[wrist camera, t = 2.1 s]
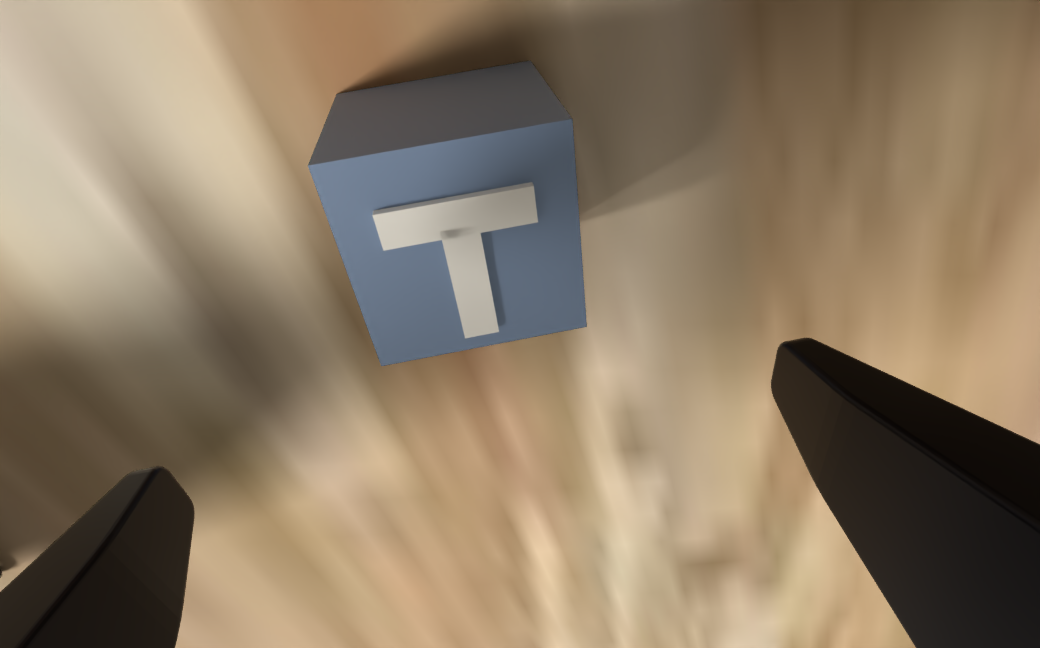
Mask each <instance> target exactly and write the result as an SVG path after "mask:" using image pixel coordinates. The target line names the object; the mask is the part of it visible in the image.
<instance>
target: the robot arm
mask: <svg viewBox="0 0 1040 648" xmlns="http://www.w3.org/2000/svg"><path fill="white" fill-rule="evenodd" d="M771 389H772V394H773V397H774V399H775V402H776V404H777V406H778V408H779V410H780V412H781V414H782V416H783V418H784V420H785V423H786V425H787V427H788V429H789V431H790V433H791V435H792V437H793V439H794V441H795V443H796V446H797V448H798V450H799V452H800V454H801V456H802V458H803V460H804V462H805V464H806V467H807V469H808V471H809V473H810V475H811V477H812V479H813V480H814V482H815V484H816V486H817V488H818V490H819V491H820V493H821V495H822V496H823V498H824V500H825V502H826V503H827V505H828V506H829V508H830V510H831V511H832V513H833V514H834V516H835V518H836V519H837V521H838V523H839V524H840V526H841V527H842V529H843V531H844V532H845V534H846V535H847V537H848V539H849V540H850V542H851V543H852V545H853V547H854V548H855V550H856V552H857V553H858V555H859V556H860V558H861V560H862V561H863V563H864V564H865V566H866V568H867V569H868V571H869V573H870V574H871V576H872V577H873V579H874V581H875V582H876V584H877V585H878V587H879V589H880V590H881V592H882V593H883V595H884V597H885V598H886V600H887V602H888V603H889V605H890V606H891V608H892V610H893V611H894V613H895V614H896V616H897V618H898V619H899V621H900V623H901V624H902V626H903V627H904V629H905V631H906V632H907V634H908V635H909V637H910V639H911V640H912V642H913V643H914V645H915V647H916V648H1040V444H1038V443H1036V442H1033V441H1031V440H1029V439H1027V438H1025V437H1023V436H1021V435H1018V434H1016V433H1014V432H1012V431H1010V430H1008V429H1006V428H1003V427H1001V426H999V425H997V424H995V423H993V422H990V421H988V420H986V419H984V418H982V417H980V416H978V415H975V414H973V413H971V412H969V411H967V410H965V409H963V408H960V407H958V406H956V405H954V404H952V403H950V402H947V401H945V400H943V399H941V398H939V397H937V396H935V395H932V394H930V393H928V392H926V391H924V390H922V389H920V388H917V387H915V386H913V385H911V384H909V383H907V382H904V381H902V380H900V379H898V378H896V377H894V376H892V375H889V374H887V373H885V372H883V371H881V370H879V369H877V368H874V367H872V366H870V365H868V364H866V363H864V362H861V361H859V360H857V359H855V358H853V357H851V356H849V355H846V354H844V353H842V352H840V351H838V350H836V349H834V348H831V347H829V346H827V345H825V344H823V343H821V342H818V341H816V340H814V339H811V338H801V339H796V340H791V341H786V342H783V343H781V344H780V346H779V347H778V350H777V354H776V359H775V364H774V370H773V375H772V380H771ZM193 524H194V506H193V503H192V501H191V499H190V497H189V496H188V495H187V493H186V492H185V491H184V490H183V488H182V487H181V486H180V484H179V483H178V482H177V481H176V479H175V478H174V477H173V475H172V474H171V473H170V472H169V471H168V470H167V469H166V468H164V467H162V466H156V467H151V468H146V469H141V470H136V471H133V472H130V473H129V474H127V475H126V476H125V477H124V478H123V479H122V480H120V481H119V482H118V483H117V484H116V485H115V486H114V487H113V488H112V489H111V490H110V491H109V492H108V493H106V494H105V495H104V496H103V497H102V498H101V499H100V500H99V501H98V502H97V503H96V504H95V505H94V506H92V507H91V508H90V509H89V510H88V511H87V512H86V513H85V514H84V515H83V516H82V517H81V518H80V519H78V520H77V521H76V522H75V523H74V524H73V525H72V526H71V527H70V528H69V529H68V530H67V531H66V532H65V533H63V534H62V535H61V536H60V537H59V538H58V539H57V540H56V541H55V542H54V543H53V544H52V545H51V546H49V547H48V548H47V549H46V550H45V551H44V552H43V553H42V554H41V555H40V556H39V557H38V558H37V559H35V560H34V561H33V562H32V563H31V564H30V565H29V566H28V567H27V568H26V569H25V570H24V571H23V572H21V573H20V574H19V575H18V576H17V577H16V578H15V579H14V580H13V581H12V582H11V583H10V584H9V585H7V586H6V587H5V588H4V589H3V590H2V591H1V592H0V648H175V645H176V641H177V636H178V632H179V627H180V622H181V617H182V610H183V604H184V596H185V588H186V580H187V572H188V564H189V556H190V548H191V540H192V532H193ZM1 576H2V571H1V570H0V578H1Z"/></svg>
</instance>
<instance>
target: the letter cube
mask: <svg viewBox="0 0 1040 648" xmlns="http://www.w3.org/2000/svg"><path fill="white" fill-rule="evenodd" d="M308 167H309V170H310V173H311V175H312V178H313V181H314V183H315V186H316V189H317V192H318V194H319V197H320V200H321V203H322V205H323V208H324V211H325V214H326V216H327V219H328V222H329V224H330V227H331V230H332V233H333V235H334V238H335V241H336V244H337V246H338V249H339V252H340V255H341V257H342V260H343V263H344V265H345V268H346V271H347V274H348V276H349V279H350V282H351V285H352V287H353V290H354V293H355V296H356V298H357V301H358V304H359V306H360V309H361V312H362V315H363V317H364V320H365V323H366V326H367V328H368V331H369V334H370V337H371V339H372V342H373V345H374V347H375V350H376V353H377V356H378V358H379V361H380V364H381V366H385V365H390V364H395V363H401V362H406V361H411V360H416V359H421V358H427V357H432V356H437V355H442V354H447V353H452V352H458V351H463V350H468V349H473V348H478V347H484V346H489V345H494V344H499V343H504V342H510V341H515V340H520V339H525V338H530V337H536V336H541V335H546V334H551V333H556V332H562V331H567V330H572V329H577V328H582V327H587V324H586V309H585V295H584V280H583V266H582V251H581V236H580V222H579V207H578V193H577V178H576V164H575V149H574V135H573V120H572V118H571V116H570V115H569V113H568V112H567V111H566V109H565V108H564V107H563V105H562V104H561V102H560V101H559V100H558V98H557V97H556V95H555V94H554V93H553V91H552V90H551V89H550V87H549V86H548V84H547V83H546V82H545V80H544V79H543V77H542V76H541V75H540V73H539V72H538V71H537V69H536V68H535V66H534V65H533V64H532V62H531V61H525V62H519V63H513V64H507V65H502V66H496V67H490V68H484V69H478V70H473V71H467V72H461V73H455V74H449V75H444V76H438V77H432V78H426V79H420V80H415V81H409V82H403V83H397V84H391V85H385V86H380V87H374V88H368V89H362V90H356V91H351V92H345V93H339V94H336V97H335V99H334V102H333V104H332V107H331V109H330V112H329V114H328V117H327V119H326V122H325V124H324V127H323V129H322V132H321V134H320V137H319V139H318V142H317V144H316V147H315V149H314V152H313V154H312V157H311V159H310V162H309V164H308Z"/></svg>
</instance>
